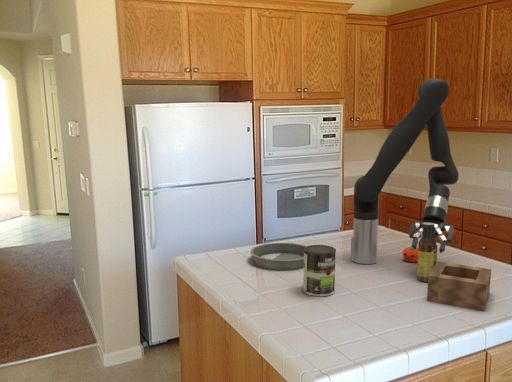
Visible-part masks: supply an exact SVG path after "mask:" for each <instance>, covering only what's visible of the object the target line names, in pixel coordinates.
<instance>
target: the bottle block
mask: <svg viewBox="0 0 512 382" xmlns="http://www.w3.org/2000/svg"><path fill="white" fill-rule="evenodd" d="M491 275H492V269H491V268H484V267H479V266H471V265H463V264H456V263H450V262H444V261H437V264H436V265H435V267H434V268H433V270H432V271H431V272H430V274H429V275H428V282H427V291H426V292H427V295H426V301H427V302H434V303H439V304H444V305H445V304H446V305H450V306H454V307H459V308H465V309H466V308H467V309H470V310H476V311H482V312H485V311H486V307H487V303H488V300H489V297H490V291H491V277H492V276H491Z"/></svg>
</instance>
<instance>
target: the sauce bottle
mask: <svg viewBox="0 0 512 382" xmlns="http://www.w3.org/2000/svg"><path fill="white" fill-rule="evenodd" d="M422 228H423V234H422V238H420V239H419V240H418V244H417V248H418V260H417V262H416V263H417V265H416V275H417V276H416V279H417V280H418V281H420V282H423V283H428V275H429V274H430V272H431V271H432V270H433V268H434V267H435V265H436V264H437V262H438V244H437V242H436V241H437V240H436V237H434V228H435V224H434V223H422Z"/></svg>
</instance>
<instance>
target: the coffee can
mask: <svg viewBox="0 0 512 382" xmlns="http://www.w3.org/2000/svg"><path fill="white" fill-rule="evenodd" d="M305 246H306V247H304V267H303V288H302V291H303V292H304V294H307V295H310V296H313V297H328V296H332V295H334V294H335V292H336V290H335V285H336V283H335V282H336V279H335V278H336V277H335V276H336V252H337V249H336V248H335V247H333V246H332V245H327V244H326V245H324V244H311V245H305Z"/></svg>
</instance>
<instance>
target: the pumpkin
mask: <svg viewBox="0 0 512 382" xmlns="http://www.w3.org/2000/svg"><path fill="white" fill-rule="evenodd" d="M401 254H402V257H403V260H404V261H407V262H410V263H411V262H413V263H417V260H418V247H417V248H416V249H414V248H413V246H412V244H411V245H410V247H409V246H408V247H405V248H404V249H403V251H402V253H401Z"/></svg>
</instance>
